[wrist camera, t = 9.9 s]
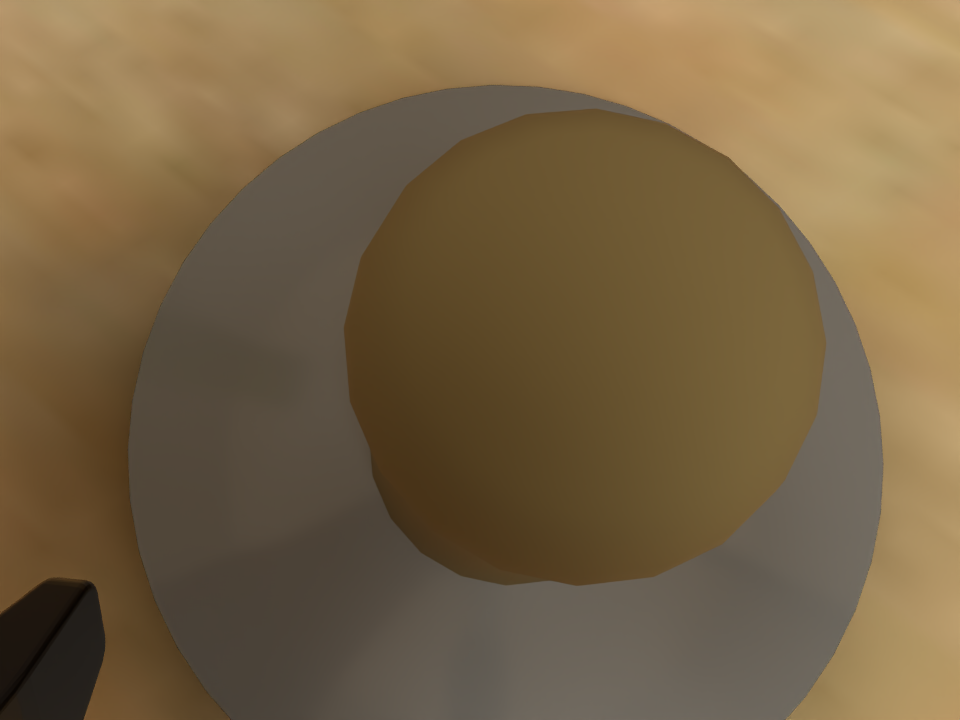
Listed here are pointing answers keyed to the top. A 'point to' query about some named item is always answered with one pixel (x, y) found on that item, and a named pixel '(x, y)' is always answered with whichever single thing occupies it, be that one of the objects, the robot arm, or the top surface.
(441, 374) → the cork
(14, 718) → the robot arm
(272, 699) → the plate
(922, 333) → the top surface
